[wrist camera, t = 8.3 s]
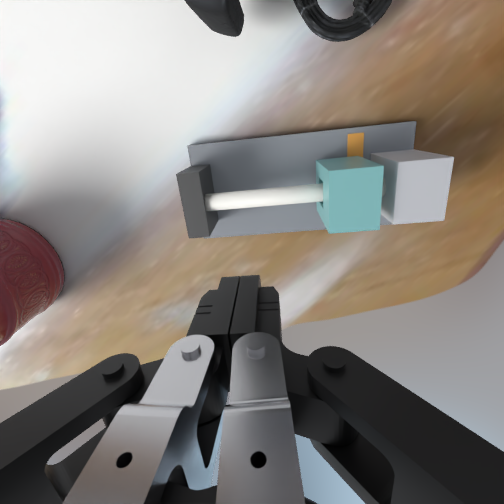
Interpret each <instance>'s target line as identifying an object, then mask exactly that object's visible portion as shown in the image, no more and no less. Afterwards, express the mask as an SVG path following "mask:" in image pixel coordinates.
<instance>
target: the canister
mask: <svg viewBox="0 0 504 504" xmlns="http://www.w3.org/2000/svg"><path fill="white" fill-rule="evenodd" d="M63 285H64V270H63V266H62V263H61V261H60V259H59V257H58V255H57V253H56V252H55V250H54V249H53V247H52V246H51V245H50V244H49V243H48V242H47V241H46V240H45V239H44V238H43V237H42V236H41V235H40V234H39V233H37V232H36V231H34V230H33V229H31V228H29V227H28V226H26V225H24V224H21V223H19V222H16V221H12V220H8V219H0V346H1V345H3V344H4V343H6V342H7V341H8V340H9V339H10V338H11V337H12V335H13V334H14V333H15V332H17V331H18V330H19V329H20V328H21V327H23V326H24V325H25V324H26V323H28V322H29V321H30V320H31V319H32V318H34V317H35V316H36V315H38V314H40V313H42V312H43V311H45V310H46V309H47V308H48V307H49V306H51V305H52V304H53V302H54V301H55V300H56V298H57V297H58V296H59V294H60V293H61V291H62V288H63Z"/></svg>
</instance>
